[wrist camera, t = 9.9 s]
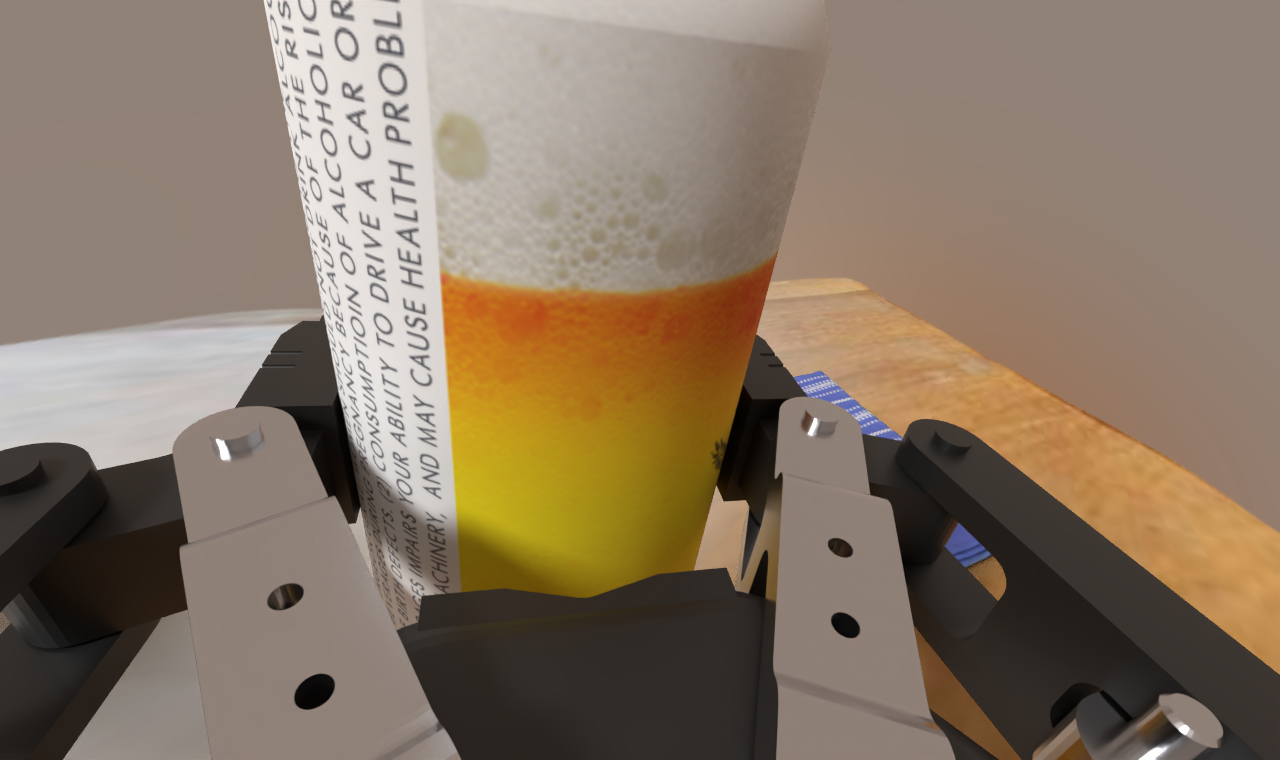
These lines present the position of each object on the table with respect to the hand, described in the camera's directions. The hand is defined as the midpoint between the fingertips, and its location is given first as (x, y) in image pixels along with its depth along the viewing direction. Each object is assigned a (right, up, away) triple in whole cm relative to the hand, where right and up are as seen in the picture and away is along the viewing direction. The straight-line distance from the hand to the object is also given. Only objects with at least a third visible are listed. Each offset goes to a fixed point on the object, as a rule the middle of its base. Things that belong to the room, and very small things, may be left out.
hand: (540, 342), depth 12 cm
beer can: (-1, -8, +2) cm, 9 cm away
